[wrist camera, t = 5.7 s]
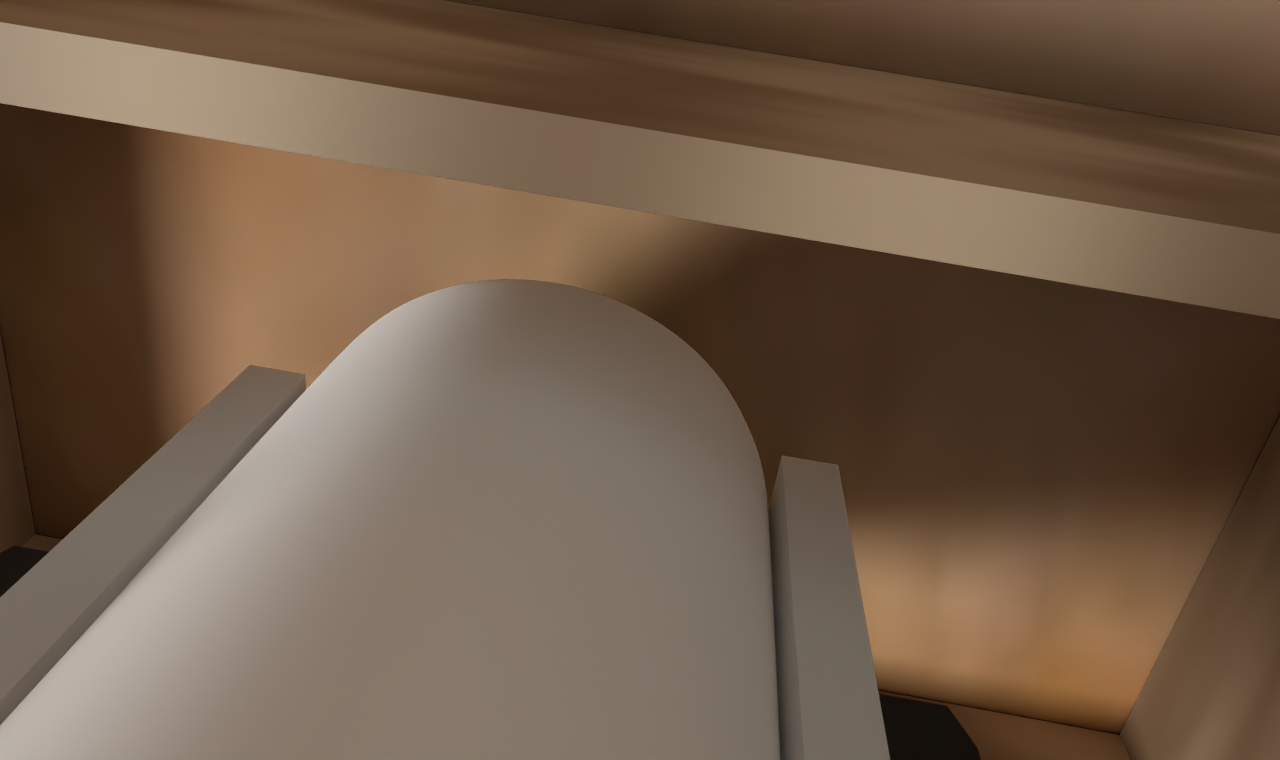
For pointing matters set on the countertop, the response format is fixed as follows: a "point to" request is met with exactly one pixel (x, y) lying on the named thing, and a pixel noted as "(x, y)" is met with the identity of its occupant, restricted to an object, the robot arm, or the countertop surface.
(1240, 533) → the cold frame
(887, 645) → the countertop surface
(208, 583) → the can
